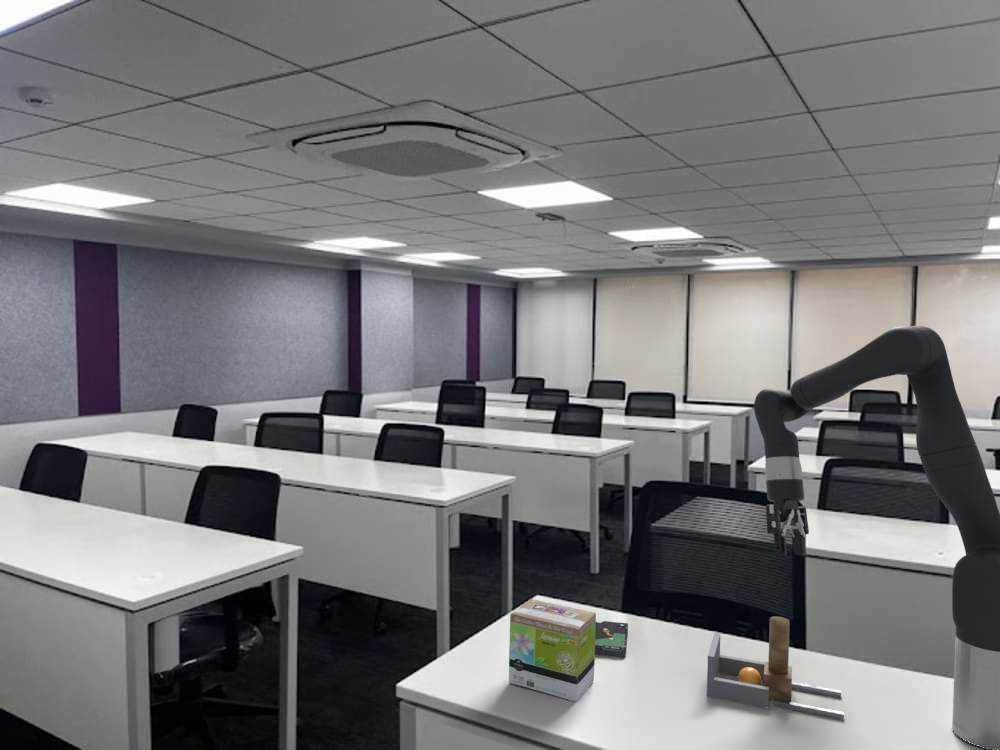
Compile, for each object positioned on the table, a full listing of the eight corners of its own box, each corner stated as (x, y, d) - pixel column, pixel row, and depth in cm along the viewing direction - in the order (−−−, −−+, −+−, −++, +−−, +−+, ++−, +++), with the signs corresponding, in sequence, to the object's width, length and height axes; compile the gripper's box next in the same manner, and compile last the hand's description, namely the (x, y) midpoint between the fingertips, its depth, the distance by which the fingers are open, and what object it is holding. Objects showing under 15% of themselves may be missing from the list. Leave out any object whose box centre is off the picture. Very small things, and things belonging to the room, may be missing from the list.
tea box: (507, 685, 141) (508, 612, 140) (528, 665, 149) (529, 597, 149) (577, 704, 134) (578, 627, 133) (595, 682, 142) (597, 610, 142)
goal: (770, 680, 144) (771, 641, 144) (767, 708, 133) (769, 666, 133) (713, 669, 149) (714, 632, 148) (706, 696, 137) (707, 655, 137)
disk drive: (584, 630, 170) (579, 655, 156) (584, 618, 170) (579, 642, 156) (627, 634, 168) (626, 660, 154) (628, 622, 168) (626, 647, 154)
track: (840, 695, 138) (840, 690, 138) (843, 720, 129) (844, 714, 129) (775, 683, 143) (775, 678, 143) (773, 706, 134) (773, 701, 134)
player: (791, 689, 140) (793, 616, 139) (791, 703, 134) (793, 627, 134) (764, 684, 142) (766, 612, 141) (763, 697, 136) (765, 623, 136)
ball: (748, 661, 143) (744, 681, 143) (735, 665, 140) (732, 686, 141) (767, 671, 139) (764, 692, 140) (755, 676, 137) (751, 697, 137)
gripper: (785, 475, 147) (792, 555, 143) (815, 480, 156) (822, 555, 153) (751, 477, 152) (757, 554, 149) (782, 482, 162) (789, 554, 158)
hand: (790, 555), depth 151 cm, fingers open, 8 cm apart
